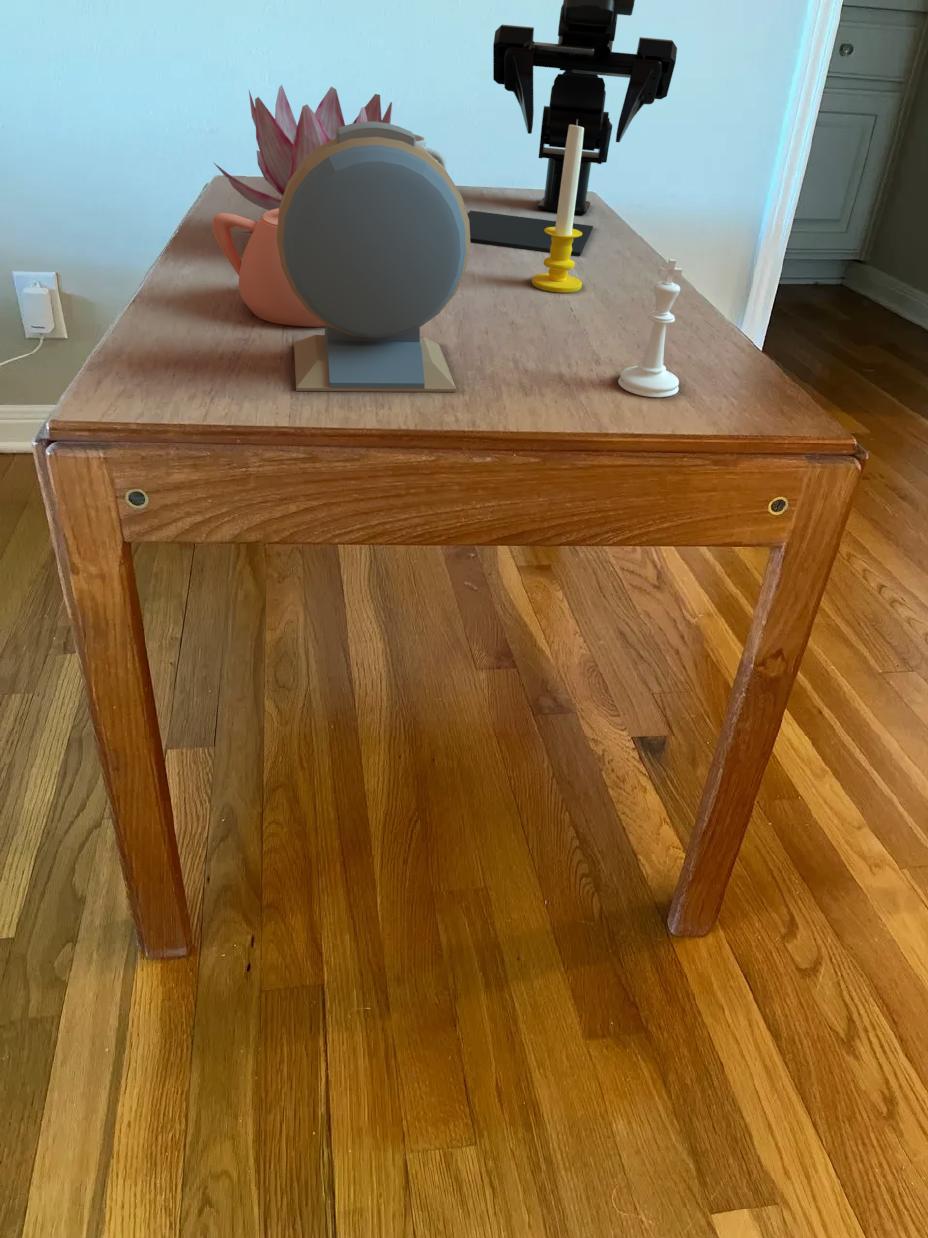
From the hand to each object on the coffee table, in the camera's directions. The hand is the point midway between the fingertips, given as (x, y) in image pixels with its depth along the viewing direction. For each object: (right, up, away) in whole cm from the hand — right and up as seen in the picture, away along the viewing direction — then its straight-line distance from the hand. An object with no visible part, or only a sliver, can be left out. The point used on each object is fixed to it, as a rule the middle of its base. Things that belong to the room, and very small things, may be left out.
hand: (573, 135), depth 98 cm
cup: (-19, +4, +26) cm, 33 cm away
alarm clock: (-19, -30, -22) cm, 41 cm away
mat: (-4, -3, +18) cm, 19 cm away
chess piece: (+4, -31, -21) cm, 38 cm away
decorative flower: (-27, -10, +5) cm, 29 cm away
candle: (-2, -15, +1) cm, 16 cm away
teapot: (-25, -22, -11) cm, 35 cm away
